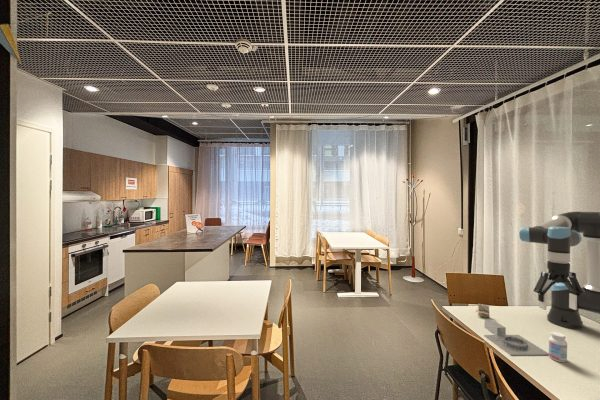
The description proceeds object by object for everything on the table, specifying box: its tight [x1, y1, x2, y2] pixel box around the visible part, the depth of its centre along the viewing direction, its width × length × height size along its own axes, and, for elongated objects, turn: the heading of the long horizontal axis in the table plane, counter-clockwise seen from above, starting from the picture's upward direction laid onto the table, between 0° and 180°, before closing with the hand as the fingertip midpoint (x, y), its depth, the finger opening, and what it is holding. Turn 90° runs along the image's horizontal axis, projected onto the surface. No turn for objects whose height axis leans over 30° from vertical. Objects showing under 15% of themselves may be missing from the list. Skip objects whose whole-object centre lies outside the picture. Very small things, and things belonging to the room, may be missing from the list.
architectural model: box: [475, 303, 490, 318], centre depth 171 cm, size 3×7×8 cm, turn 57°
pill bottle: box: [548, 331, 568, 363], centre depth 127 cm, size 6×6×11 cm
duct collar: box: [483, 318, 549, 356], centre depth 143 cm, size 18×28×4 cm, turn 1°
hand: (557, 308), depth 126 cm, fingers open, 13 cm apart
